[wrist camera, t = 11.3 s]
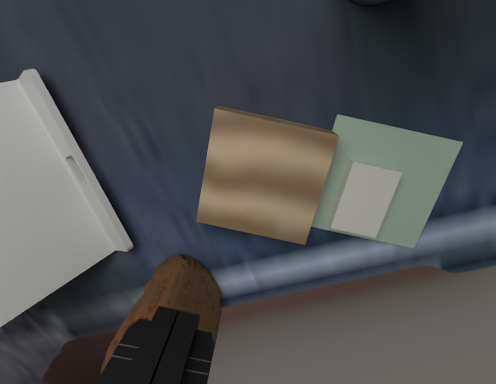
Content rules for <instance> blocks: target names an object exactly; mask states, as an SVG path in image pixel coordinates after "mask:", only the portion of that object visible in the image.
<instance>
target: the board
mask: <svg viewBox="0 0 496 384" xmlns="http://www.w3.org/2000/svg"><path fill="white" fill-rule="evenodd" d="M338 139H339V135H337V134H336V133H335V132H333V131H331V130H327V129H322V128H318V127H313V126H309V125H304V124H300V123H295V122H291V121H286V120H282V119H277V118H273V117H268V116H263V115H259V114H254V113H250V112H245V111H241V110H236V109H232V108H227V107H223V106H219V107H217V108H215V110H214V116H213V122H212V128H211V134H210V140H209V146H208V152H207V159H206V165H205V171H204V177H203V183H202V189H201V195H200V201H199V207H198V214H197V220H196V222H200V223H205V224H209V225H214V226H219V227H223V228H228V229H233V230H237V231H242V232H247V233H251V234H256V235H261V236H265V237H270V238H275V239H279V240H284V241H289V242H293V243H298V244H303V245H305V244H306V241H307V237H308V234H309V231H310V228H311V225H312V222H313V218H314V215H315V212H316V209H317V206H318V203H319V199H320V196H321V193H322V190H323V187H324V184H325V180H326V177H327V174H328V171H329V168H330V164H331V161H332V158H333V155H334V152H335V149H336V145H337V142H338Z"/></svg>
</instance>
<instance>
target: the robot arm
mask: <svg viewBox="0 0 496 384" xmlns="http://www.w3.org/2000/svg"><path fill="white" fill-rule="evenodd" d="M351 1H353V2H356V3H359V4H362V5H376V4H381V3H384V2H387V1H389V0H351ZM199 320H200V314H199V313H194V312H188V311H183V310H180V312H179V310H178V309H173V308H168V307H162V306H158V308H157V310H156V312H155V314H154V316H153V318H152V320H151V321H149V320H144V319H138V320H137V321H136V322H135V323H134V324H132V325H131V326H130V327H129V328H128V329H127V330H126V332H125V333H124V335H123V337H122V339H121V340H120V342H119V345H118V346H117V347H116V349H115V351H114V353H113V355H112V357H111V358H110V360H109V362H108V363H107V365H106V367H105V369H104V370H103V372H102V374H101V376H100V378H99V380H98V381H97V383H96V384H207V381H208V376H209V371H210V366H211V361H212V356H213V351H214V342H213V338H212V334H211V332H206V331H201V330H198V326H199Z"/></svg>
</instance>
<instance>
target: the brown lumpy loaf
mask: <svg viewBox="0 0 496 384" xmlns="http://www.w3.org/2000/svg"><path fill="white" fill-rule="evenodd" d="M158 306H162V307H168V308H173V309H178V310H179V312H180V310H183V311H188V312H194V313H199V314H200V320H199V326H198V330H201V331H206V332H211V334H212V338H213V342H214V348H215V343H216V338H217V333H218V327H219V322H220V315H221V306H220V290H219V287H218V285H217V283H216V282H215V280H214V278H213V277H212V275H211V274H210V273H209V272H208V271H207V270H206V269H205V268H202V266H201V265H200V264H199V263H198V262H197V261H196V260H195V259H193V258H191V257H185V256H184V255H182V254H177V255H174V256H172V257H170V258H168V259H167V260H165V261H164V262H163V263H162V264H161V265H159V267H158V268H157V269H156V271H155V272H154V273H153V275H152V278H151V280H150V281H149V282H148V283H147V285H146V287H145V292H144V295H143V296H142V297H141V298H140V299H139V300H138V302H137V303H136V304H135V305H134V307H133V308H132V309H131V311H130V312H129V313H128V316H127V318H126V319H125V320H124V322H123V323H122V325H121V326H120V328H119V330H118V332H117V334H116V336H115V338H114V339H113V341H112V342H111V344H110V346H109V348H108V350H107V353H106V358H105V360H104V361H103V364H102V370H101V374H102V372H103V370H104V369H105V367H106V365H107V363H108V362H109V360H110V358H111V357H112V355H113V353H114V351H115V349H116V347H117V346H118V345H119V342H120V340H121V339H122V337H123V335H124V333H125V332H126V330H127V329H128V328H129V327H130V326H131V325H132V324H134V323H135V322H136V321H137V320H138V319H144V320H149V321H151V320H152V318H153V316H154V314H155V312H156V310H157V308H158ZM213 352H214V351H213ZM212 357H213V356H212Z"/></svg>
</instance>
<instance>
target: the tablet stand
mask: <svg viewBox="0 0 496 384" xmlns="http://www.w3.org/2000/svg"><path fill="white" fill-rule="evenodd" d="M73 158H74V159H73ZM77 165H78V166H77ZM132 248H133V244H132V242H131V240H130V238H129V236H128V235H127V233H126V231H125V229H124V227H123V226H122V224H121V222H120V220H119V218H118V217H117V215H116V213H115V211H114V209H113V208H112V206H111V204H110V202H109V200H108V199H107V197H106V195H105V193H104V191H103V190H102V188H101V186H100V184H99V182H98V180H97V179H96V177H95V175H94V173H93V171H92V170H91V168H90V166H89V164H88V162H87V161H86V159H85V157H84V155H83V153H82V152H81V150H80V148H79V146H78V144H77V143H76V141H75V139H74V137H73V135H72V134H71V132H70V130H69V128H68V126H67V125H66V123H65V121H64V119H63V117H62V115H61V114H60V112H59V110H58V108H57V106H56V105H55V103H54V101H53V99H52V97H51V96H50V94H49V92H48V90H47V88H46V87H45V85H44V83H43V81H42V79H41V78H40V76H39V74H38V72H37V71H36V70H35V69H29V70H24V71H23V73H22V74H21V76H20V77H19V79H17V80H14V81H9V82H3V83H0V327H1V326H3V325H4V324H6V323H7V322H9V321H10V320H12V319H13V318H15V317H16V316H18V315H19V314H21V313H22V312H24V311H25V310H27V309H28V308H30V307H31V306H33V305H34V304H36V303H37V302H39V301H40V300H42V299H43V298H45V297H46V296H48V295H49V294H51V293H52V292H54V291H55V290H57V289H58V288H60V287H61V286H63V285H64V284H66V283H67V282H69V281H70V280H72V279H73V278H75V277H76V276H78V275H79V274H81V273H82V272H84V271H85V270H87V269H88V268H90V267H91V266H93V265H94V264H96V263H97V262H99V261H100V260H102V259H103V258H105V257H106V256H108V255H109V254H111V253H112V252H114V251H116V250H118V251H124V252H127V251H129V250H130V249H132Z"/></svg>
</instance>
